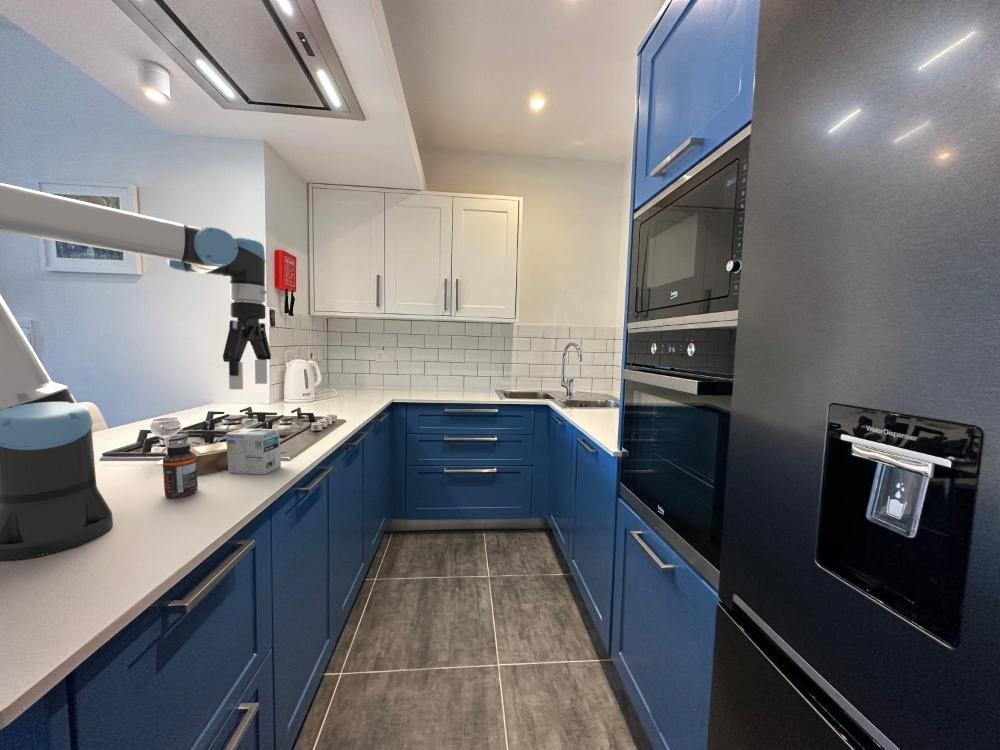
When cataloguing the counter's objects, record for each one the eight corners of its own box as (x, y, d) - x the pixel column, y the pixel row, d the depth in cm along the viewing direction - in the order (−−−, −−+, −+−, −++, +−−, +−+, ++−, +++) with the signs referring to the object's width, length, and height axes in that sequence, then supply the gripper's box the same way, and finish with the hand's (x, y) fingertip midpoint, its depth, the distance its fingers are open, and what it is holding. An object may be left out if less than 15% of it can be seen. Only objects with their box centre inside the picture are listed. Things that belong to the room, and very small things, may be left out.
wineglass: (146, 463, 113) (143, 420, 112) (172, 456, 120) (169, 416, 119) (163, 465, 111) (160, 422, 110) (189, 458, 118) (186, 417, 117)
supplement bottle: (159, 495, 91) (155, 446, 90) (189, 486, 96) (186, 440, 95) (173, 500, 88) (169, 449, 87) (203, 491, 93) (200, 443, 92)
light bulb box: (281, 467, 111) (280, 428, 110) (265, 475, 105) (263, 434, 104) (245, 465, 112) (243, 427, 111) (226, 473, 106) (224, 432, 105)
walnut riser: (196, 475, 104) (194, 455, 103) (183, 466, 111) (182, 447, 110) (244, 465, 112) (243, 447, 112) (230, 457, 119) (229, 440, 119)
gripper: (239, 298, 91) (241, 392, 92) (283, 307, 115) (283, 381, 117) (203, 296, 90) (205, 391, 91) (254, 306, 114) (255, 381, 116)
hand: (249, 386), depth 104 cm, fingers open, 13 cm apart
